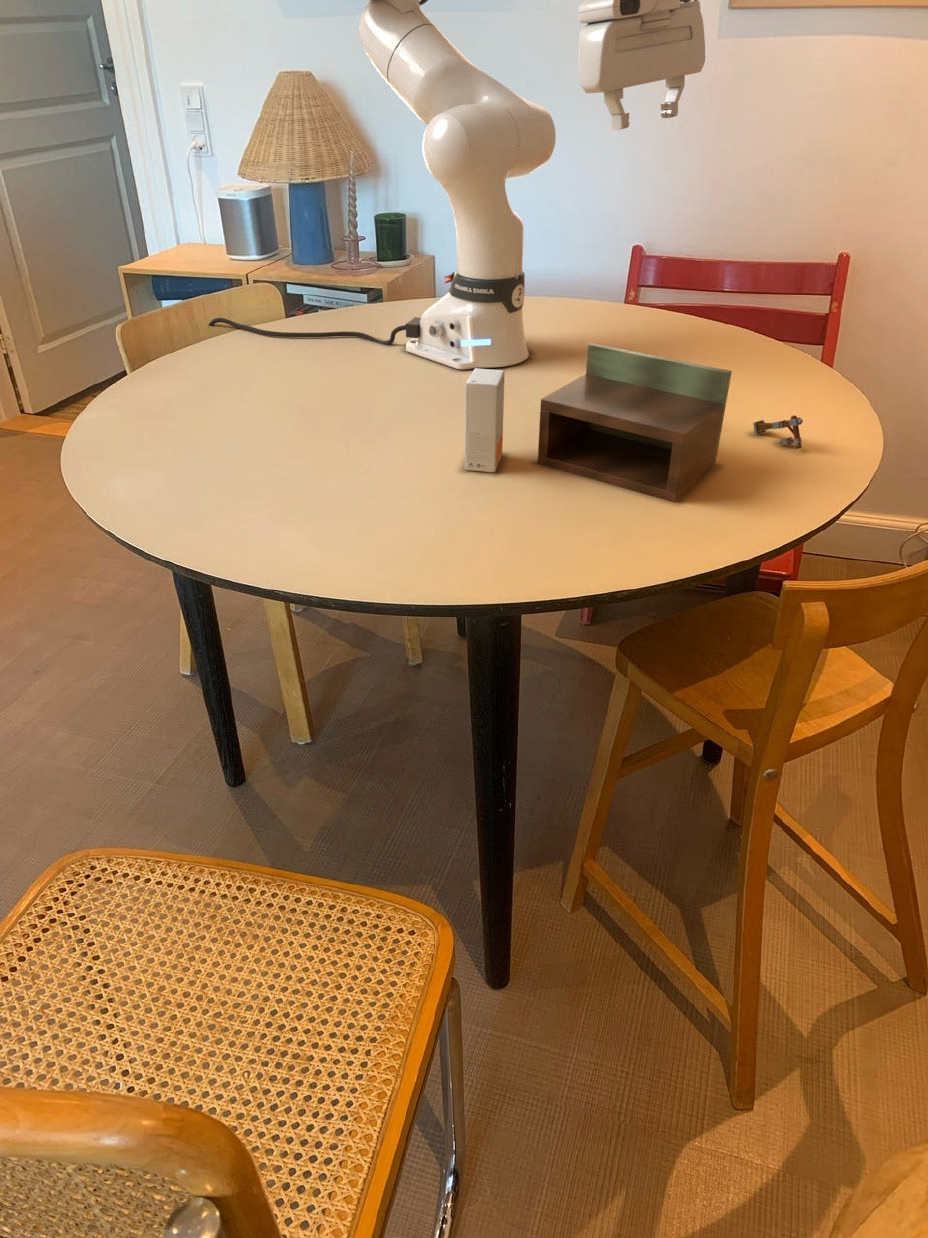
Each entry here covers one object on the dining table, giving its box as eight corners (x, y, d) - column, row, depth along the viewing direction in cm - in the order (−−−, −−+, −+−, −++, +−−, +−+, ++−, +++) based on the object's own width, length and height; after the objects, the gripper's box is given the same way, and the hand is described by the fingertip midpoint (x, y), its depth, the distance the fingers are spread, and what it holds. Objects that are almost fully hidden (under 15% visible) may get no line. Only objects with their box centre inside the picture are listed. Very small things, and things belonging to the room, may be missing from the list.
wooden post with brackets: (800, 449, 119) (796, 415, 117) (756, 452, 126) (753, 420, 125) (809, 446, 119) (806, 413, 118) (765, 449, 126) (762, 418, 125)
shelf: (537, 463, 117) (542, 368, 110) (584, 432, 126) (591, 342, 119) (675, 502, 108) (690, 401, 100) (715, 465, 116) (732, 370, 109)
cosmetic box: (496, 473, 115) (497, 385, 108) (464, 470, 115) (464, 382, 109) (503, 454, 120) (505, 369, 113) (473, 452, 120) (473, 367, 113)
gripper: (680, -8, 116) (679, 111, 123) (567, 8, 106) (574, 136, 114) (718, -15, 111) (715, 109, 119) (604, 2, 102) (609, 135, 110)
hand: (645, 122), depth 116 cm, fingers open, 8 cm apart
